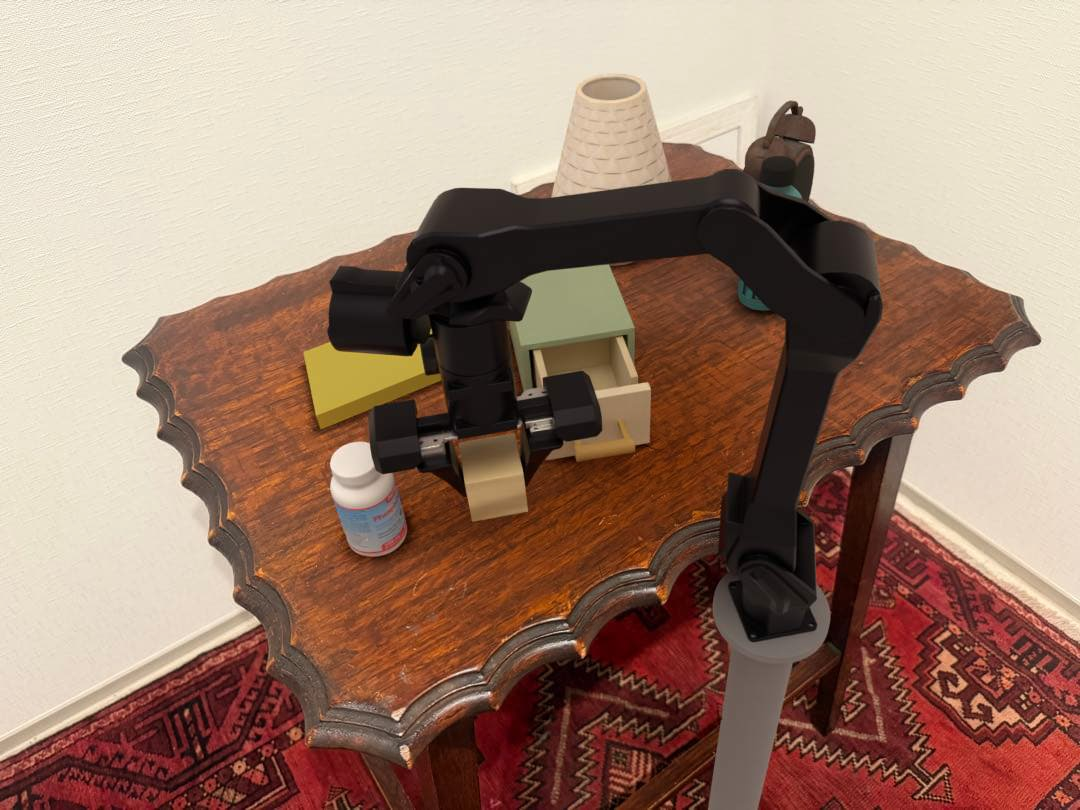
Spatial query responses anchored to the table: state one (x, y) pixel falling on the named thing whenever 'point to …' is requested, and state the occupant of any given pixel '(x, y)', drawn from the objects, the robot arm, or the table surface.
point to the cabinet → (570, 313)
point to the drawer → (601, 394)
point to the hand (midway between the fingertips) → (495, 488)
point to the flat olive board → (360, 380)
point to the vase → (610, 139)
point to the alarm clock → (786, 146)
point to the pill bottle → (366, 502)
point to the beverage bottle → (780, 178)
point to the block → (493, 477)
